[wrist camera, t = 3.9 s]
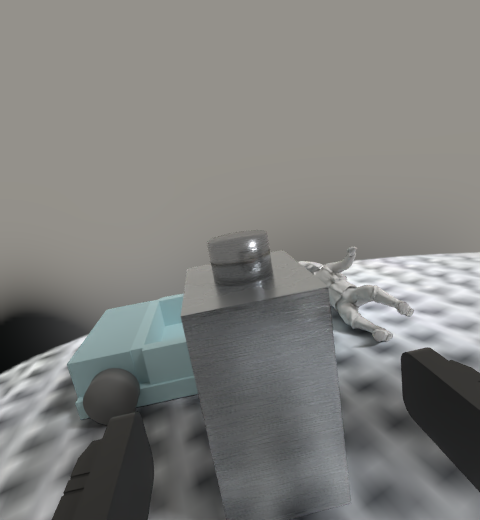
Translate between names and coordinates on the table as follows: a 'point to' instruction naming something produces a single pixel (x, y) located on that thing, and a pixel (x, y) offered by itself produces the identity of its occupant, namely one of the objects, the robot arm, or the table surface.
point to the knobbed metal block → (266, 379)
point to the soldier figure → (354, 295)
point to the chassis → (132, 360)
